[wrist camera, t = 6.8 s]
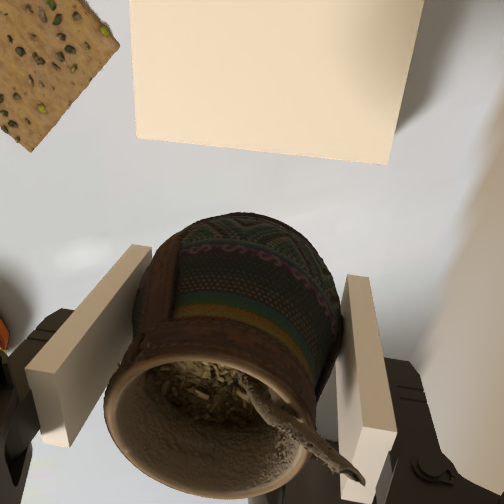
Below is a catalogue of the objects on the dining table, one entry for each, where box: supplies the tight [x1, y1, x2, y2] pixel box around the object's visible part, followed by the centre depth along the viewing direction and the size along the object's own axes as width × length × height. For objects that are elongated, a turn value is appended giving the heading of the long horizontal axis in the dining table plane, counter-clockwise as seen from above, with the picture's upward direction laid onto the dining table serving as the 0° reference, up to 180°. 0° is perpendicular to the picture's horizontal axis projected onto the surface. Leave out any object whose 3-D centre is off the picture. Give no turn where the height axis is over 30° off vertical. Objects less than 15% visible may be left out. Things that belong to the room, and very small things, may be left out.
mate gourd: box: [103, 212, 366, 499], centre depth 13 cm, size 7×8×10 cm
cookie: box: [0, 0, 120, 152], centre depth 30 cm, size 12×12×1 cm
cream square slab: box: [129, 0, 425, 165], centre depth 25 cm, size 16×16×5 cm
